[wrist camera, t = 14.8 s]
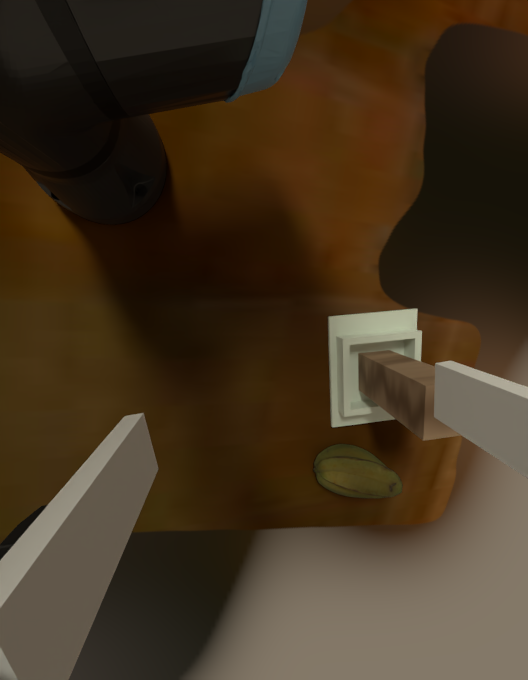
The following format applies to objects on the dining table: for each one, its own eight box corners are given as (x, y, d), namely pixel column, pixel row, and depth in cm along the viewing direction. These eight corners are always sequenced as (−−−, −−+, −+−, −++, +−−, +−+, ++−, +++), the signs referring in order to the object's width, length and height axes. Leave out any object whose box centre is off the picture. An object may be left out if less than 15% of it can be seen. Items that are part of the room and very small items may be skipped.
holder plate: (327, 316, 37) (335, 318, 34) (414, 308, 38) (429, 309, 35) (331, 425, 40) (338, 435, 38) (411, 415, 42) (424, 424, 39)
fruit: (362, 417, 41) (386, 440, 35) (388, 472, 43) (415, 502, 37) (302, 450, 41) (314, 479, 34) (332, 503, 43) (348, 539, 37)
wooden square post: (358, 353, 38) (425, 385, 24) (388, 350, 38) (472, 380, 25) (358, 389, 39) (423, 440, 25) (388, 386, 40) (467, 434, 26)
